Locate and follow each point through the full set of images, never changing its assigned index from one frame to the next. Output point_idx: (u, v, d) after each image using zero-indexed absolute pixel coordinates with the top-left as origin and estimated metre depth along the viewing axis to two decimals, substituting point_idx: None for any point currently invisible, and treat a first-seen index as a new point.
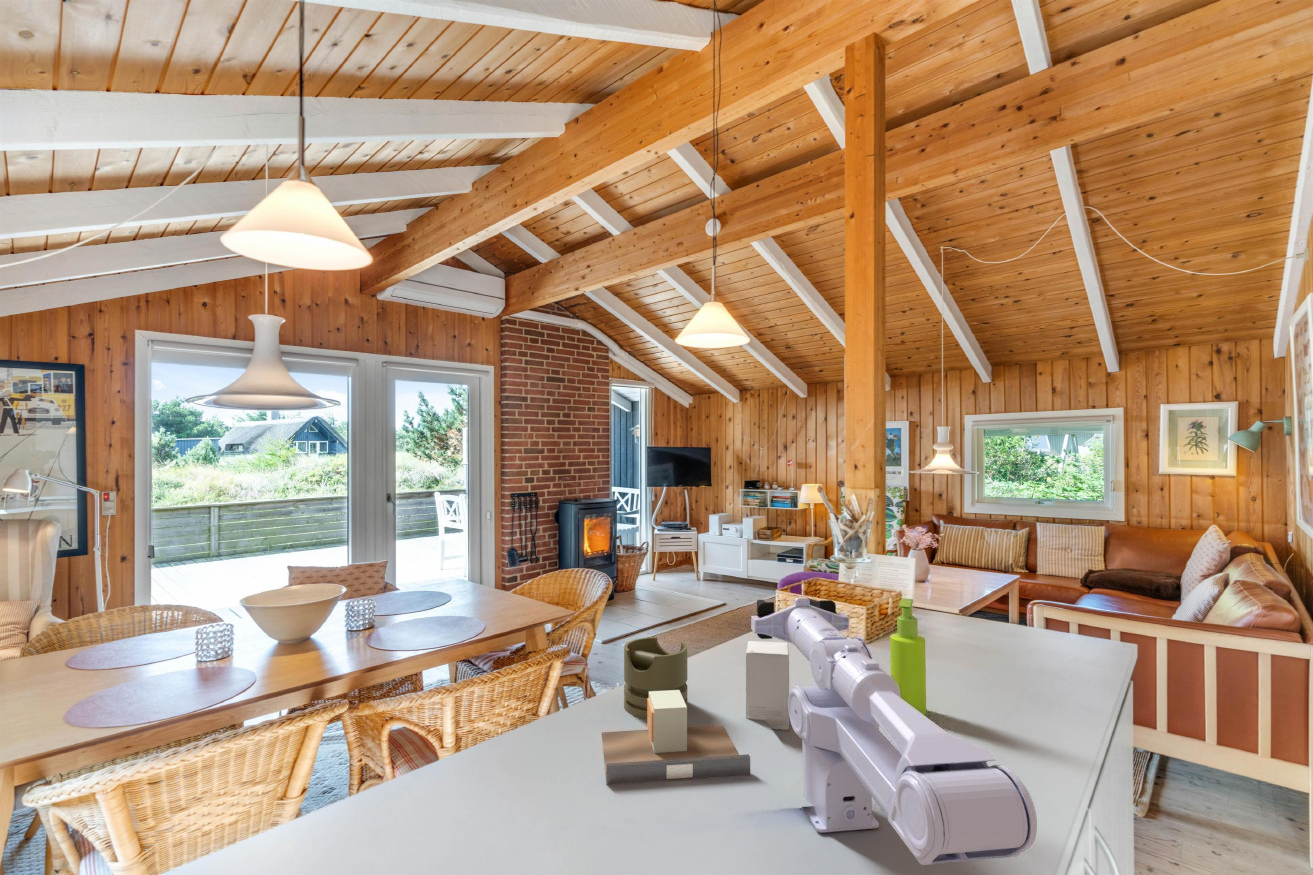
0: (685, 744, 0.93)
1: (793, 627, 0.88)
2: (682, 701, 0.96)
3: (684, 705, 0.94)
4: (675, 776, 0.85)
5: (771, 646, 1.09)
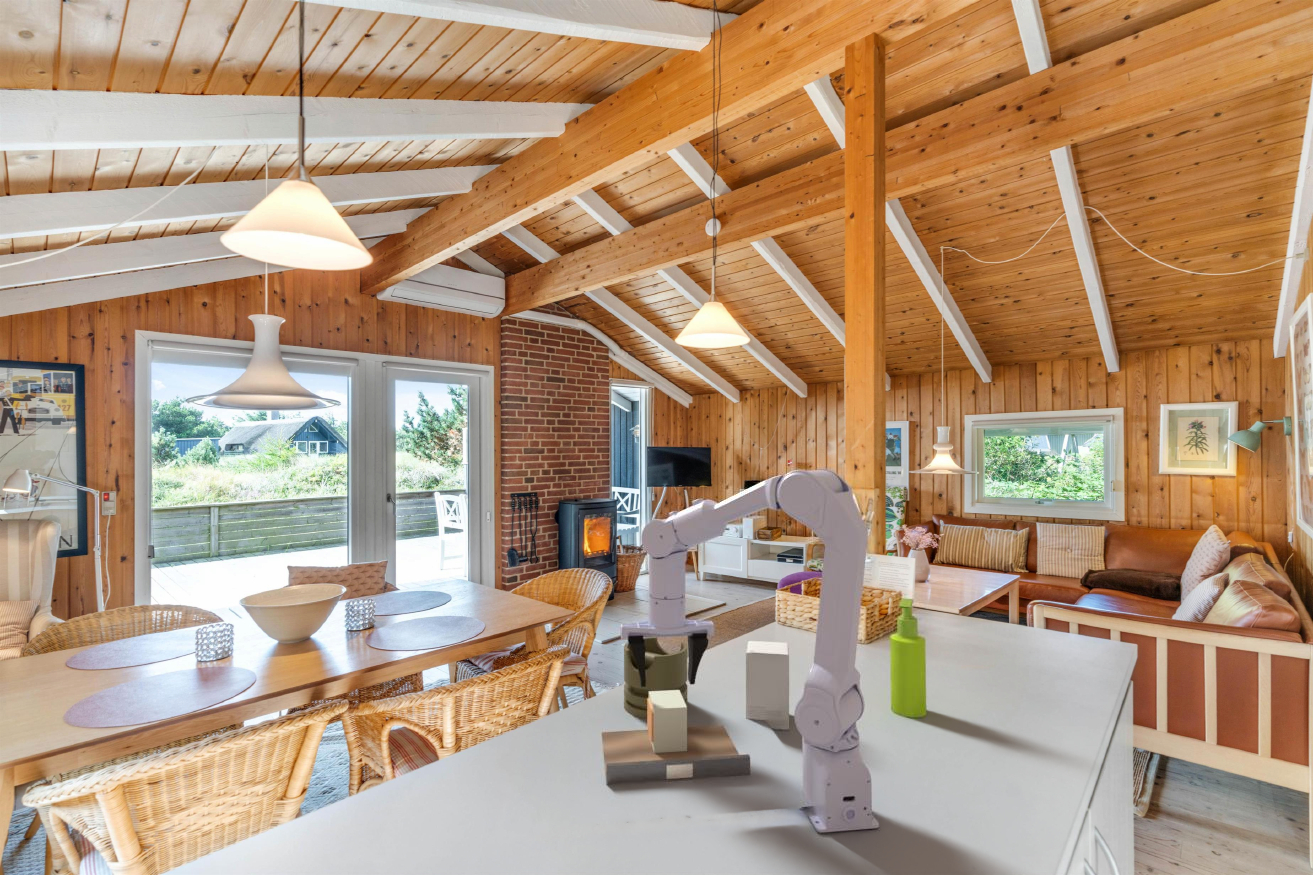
0: (685, 744, 0.93)
1: None
2: (682, 701, 0.96)
3: (684, 705, 0.94)
4: (675, 776, 0.85)
5: (771, 646, 1.09)
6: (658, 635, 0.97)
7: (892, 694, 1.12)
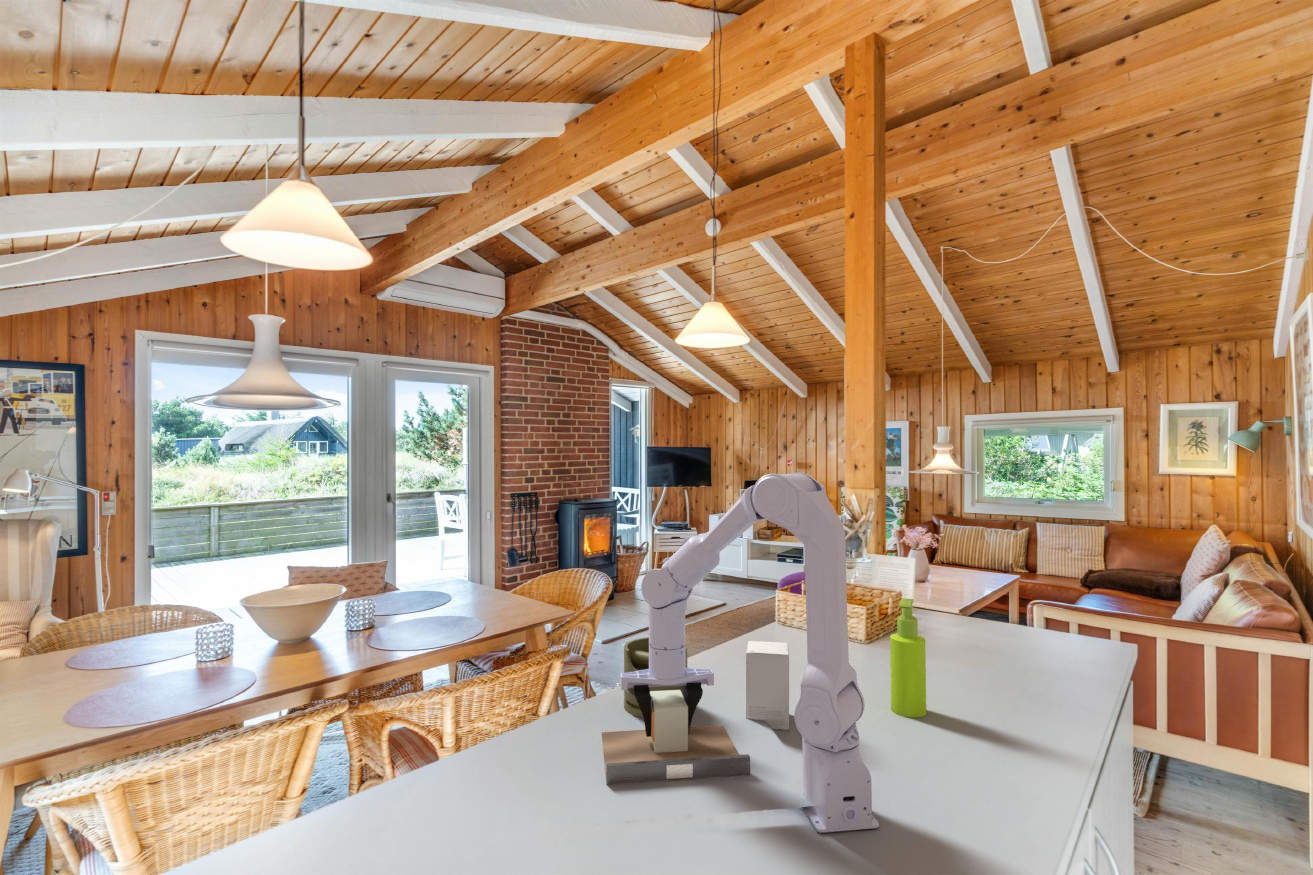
0: (686, 744, 0.93)
1: None
2: (683, 701, 0.96)
3: (685, 705, 0.94)
4: (675, 776, 0.85)
5: (771, 646, 1.09)
6: (658, 684, 0.96)
7: (892, 694, 1.12)
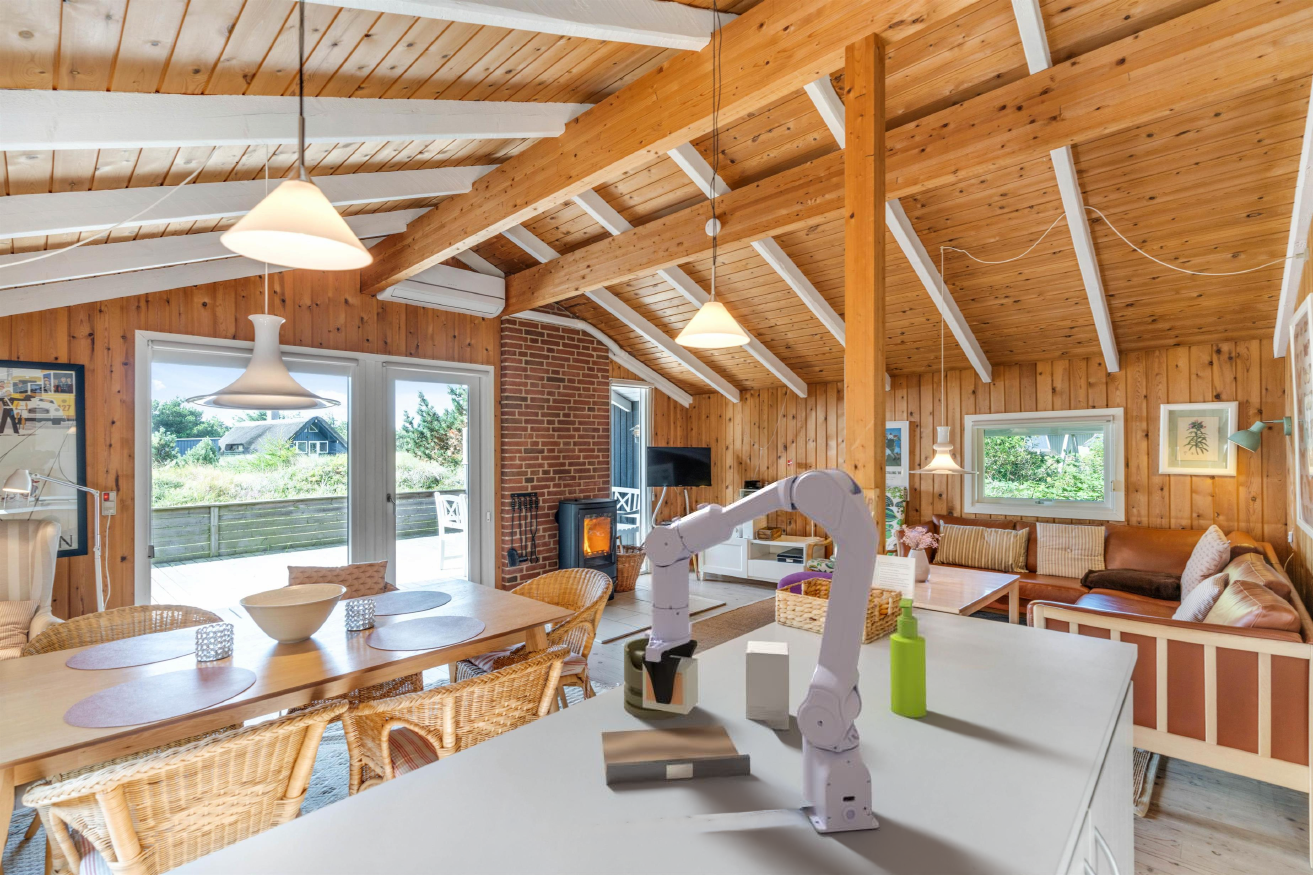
0: (697, 695, 0.94)
1: (658, 615, 0.92)
2: (683, 657, 0.95)
3: (692, 658, 0.95)
4: (675, 776, 0.85)
5: (771, 646, 1.09)
6: None
7: (892, 694, 1.12)
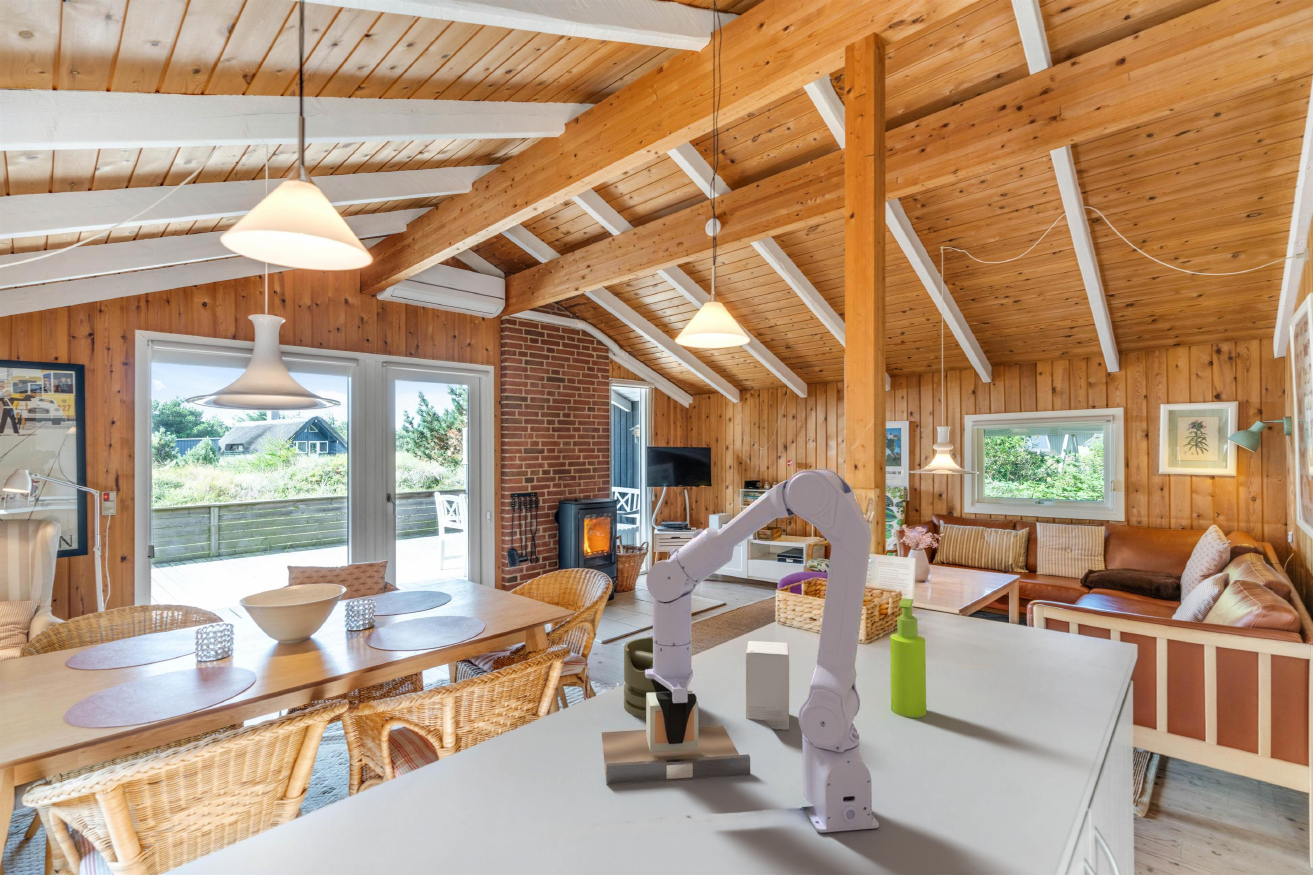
0: None
1: (668, 653, 0.89)
2: None
3: None
4: (675, 776, 0.85)
5: (771, 646, 1.09)
6: None
7: (892, 694, 1.12)
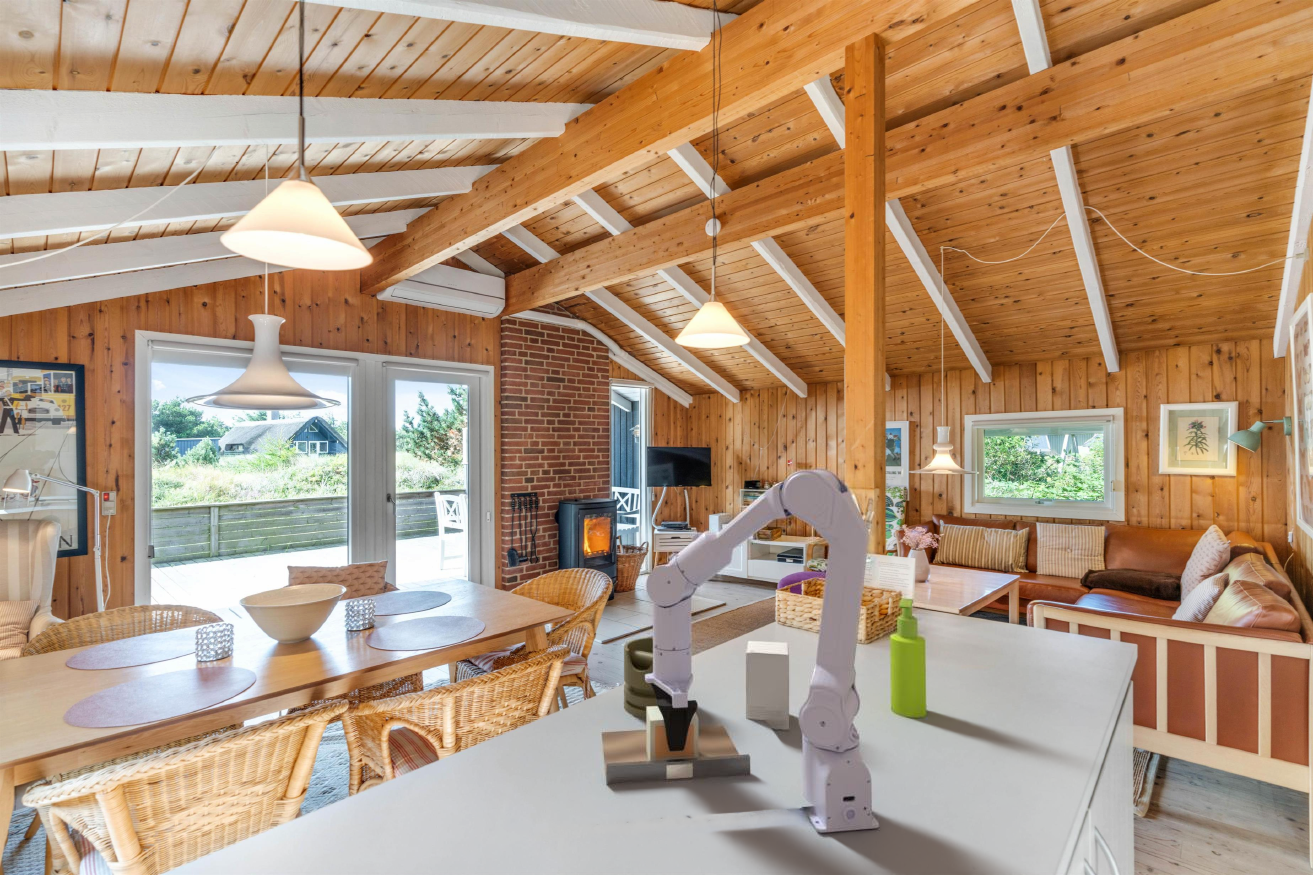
0: None
1: (668, 657, 0.89)
2: None
3: None
4: (675, 776, 0.85)
5: (771, 646, 1.09)
6: None
7: (892, 694, 1.12)
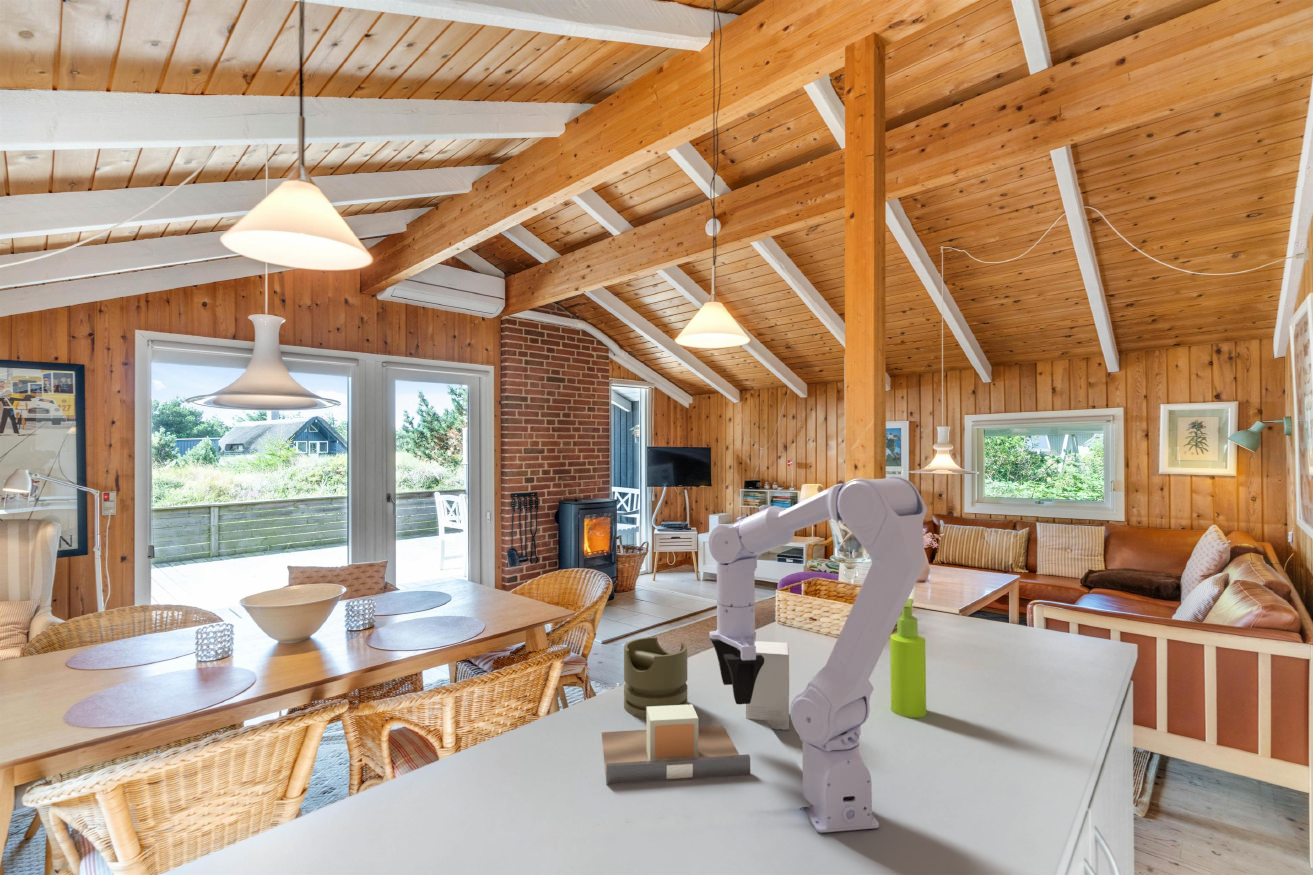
0: None
1: (734, 614, 0.92)
2: (677, 705, 0.94)
3: (687, 705, 0.94)
4: (675, 776, 0.85)
5: (771, 646, 1.09)
6: None
7: (892, 694, 1.12)
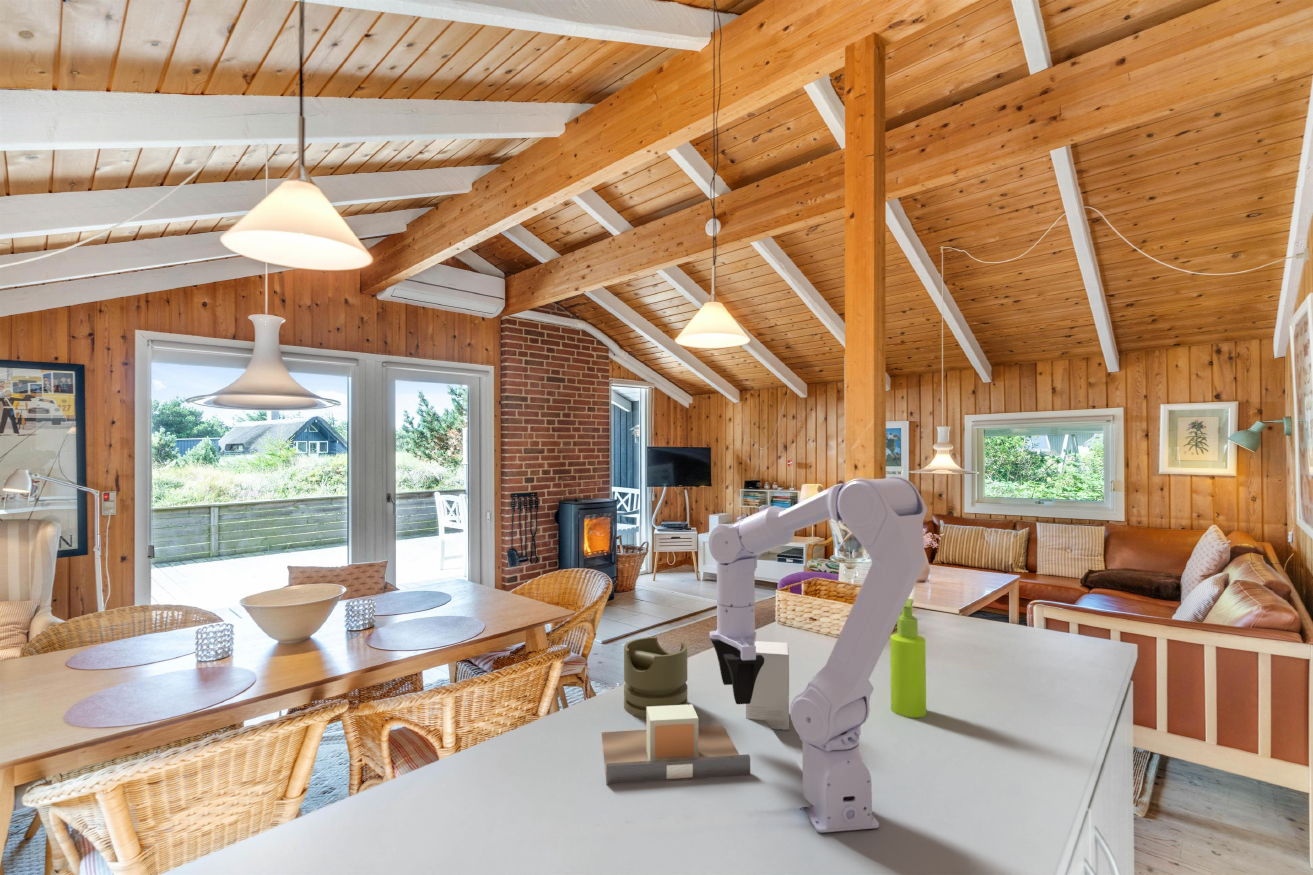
0: None
1: (734, 614, 0.92)
2: (677, 705, 0.94)
3: (687, 705, 0.94)
4: (675, 776, 0.85)
5: (771, 646, 1.09)
6: None
7: (892, 694, 1.12)
